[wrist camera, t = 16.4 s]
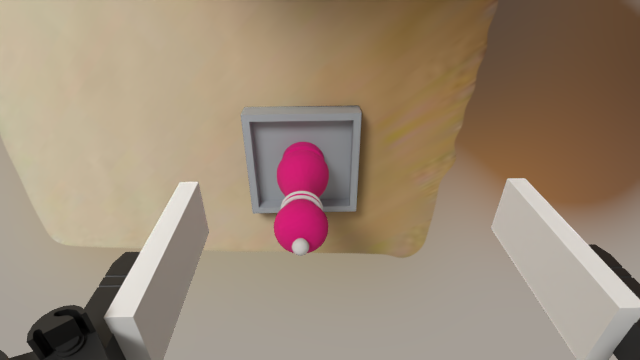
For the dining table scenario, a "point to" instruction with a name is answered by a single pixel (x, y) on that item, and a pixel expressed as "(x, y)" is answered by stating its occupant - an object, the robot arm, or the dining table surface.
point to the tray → (302, 126)
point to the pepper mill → (302, 199)
